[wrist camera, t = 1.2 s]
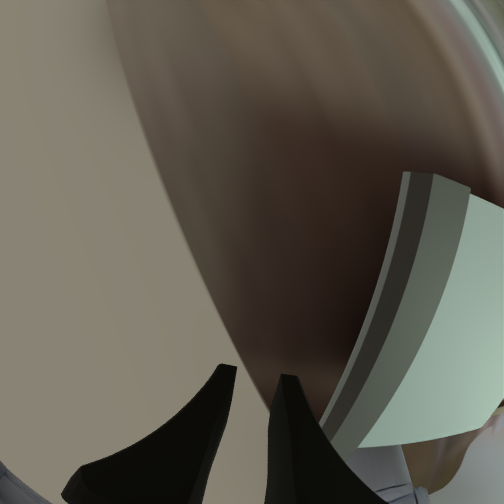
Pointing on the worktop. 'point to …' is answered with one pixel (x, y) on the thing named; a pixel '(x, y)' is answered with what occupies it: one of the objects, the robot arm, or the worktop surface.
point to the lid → (427, 325)
